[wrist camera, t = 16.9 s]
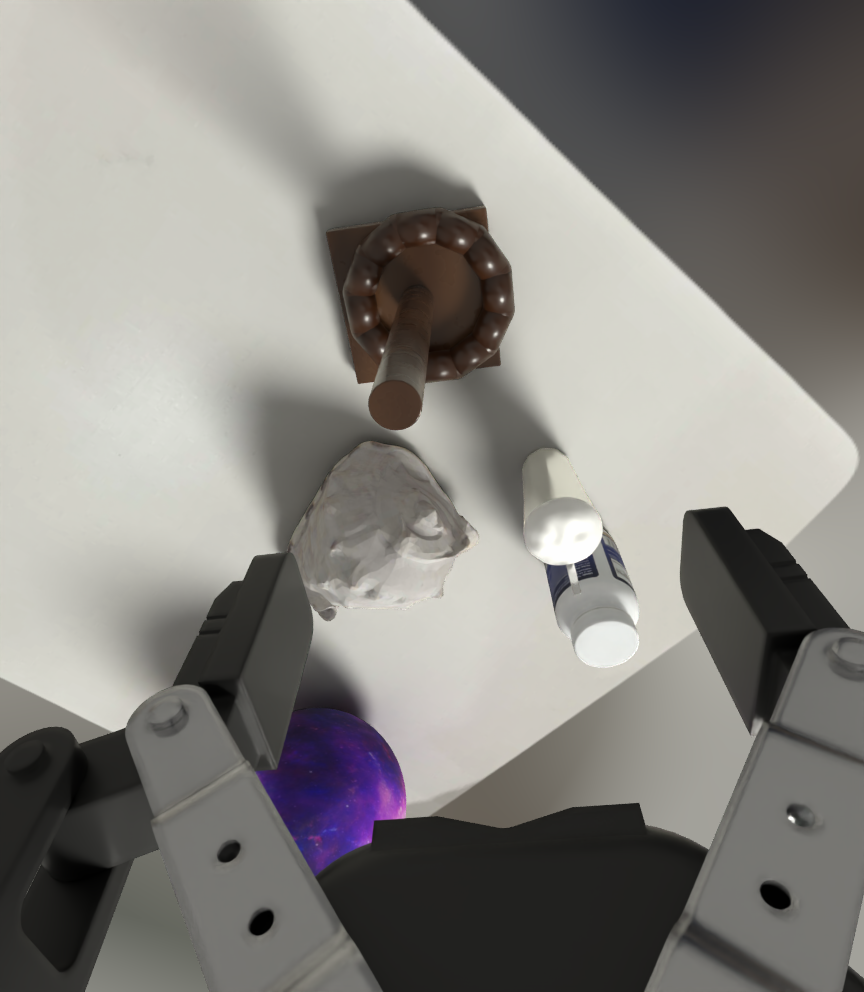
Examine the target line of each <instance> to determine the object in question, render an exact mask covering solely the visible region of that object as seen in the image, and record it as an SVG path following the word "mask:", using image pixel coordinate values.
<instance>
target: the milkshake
mask: <svg viewBox="0 0 864 992" xmlns="http://www.w3.org/2000/svg"><path fill="white" fill-rule="evenodd" d="M522 475H523V498H524V530H523V536H524V541H525V544H526V547H527V549H528V551H529V552H530V553H531V554H532V555H533V556H535V557H536V558H538V559H539V560H541V561H542V562H544V563H546V564H550V565H566V567H567V571H568V575H569V579H570V583H571V587H572V591H573V594H574V595H577V594H581V589H580V585H579V581H578V577H577V573H576V569H575V565H574V563H576V562H579V561H581V560H583V559H585V558H587V557H588V556H590V555H591V554H592V553H593V552H594V550H595V549H596V548H597V546H598V545H599V543H600V541H601V538H602V533H603V526H602V520H601V517H600V515H599V514H598V512H597V511H596V509H595V507H594V505H593V504H592V502H591V500H590V499H589V497H588V495H587V493H586V492H585V490H584V488H583V486H582V484H581V482H580V480H579V478H578V476H577V474H576V472H575V470H574V468H573V466H572V464H571V463H570V461H569V459H568V457H567V456H565V455H564V454H563V453H561V452H560V451H559V450H558V449H553V448H541V449H539V450H537V451H535V452H533V453H532V454H530V455H528V457H527V459H526V461H525V463H524V465H523V467H522Z"/></svg>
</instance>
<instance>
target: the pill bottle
mask: <svg viewBox="0 0 864 992" xmlns="http://www.w3.org/2000/svg"><path fill="white" fill-rule="evenodd" d="M544 564H545V569H546V574H547V578H548V583H549V587H550V592H551V597H552V601H553V606H554V611H555V616H556V620H557V624H558V626H559V628H560V630H561V631H562V633H563V634H564V635H565V636H566V637H567V638H569V639H570V640H572V643H573V647H574V651H575V653H576V655H577V657H578V658H579V659H580V660H581V661H582V662H584V663H585V664H587V665H590V666H593V667H599V668H607V667H613V666H617V665H619V664H622V663H624V662H625V661H627V660H628V659H630V658H631V657H632V656H633V655H634V654H635V652H636V650H637V648H638V646H639V636H638V632H637V629H636V627H635V625H636V623H637V621H638V618H639V603H638V600H637V597H636V594H635V591H634V589H633V586H632V584H631V581H630V579H629V576H628V573H627V571H626V568H625V566H624V563H623V561H622V558H621V555H620V553H619V551H618V548H617V546H616V544H615V542H614V540H613V538H612V537H611V536H610V535H609V534H608V533H607V532H606V531H605V530H603V533H602V538H601V541H600V543H599V545H598V546H597V548H596V549H595V550H594V552H593V553H592V554H591V555H590V556H588V557H587V558H585V559H583V560H581V561H579V562H576V563H574V565H575V569H576V573H577V577H578V581H579V585H580V589H581V594H577V595H574V594H573V591H572V587H571V583H570V579H569V575H568V571H567V567H566V565H550V564H546V563H544Z"/></svg>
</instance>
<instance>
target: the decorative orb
mask: <svg viewBox="0 0 864 992" xmlns="http://www.w3.org/2000/svg"><path fill="white" fill-rule="evenodd" d="M255 773H256V774H257V776H258V778H259V780H260V781H261V783H262V785H263V787H264V788H265V790H266V792H267V794H268V795H269V797H270V799H271V801H272V802H273V804H274V806H275V808H276V809H277V811H278V813H279V815H280V816H281V818H282V820H283V822H284V823H285V825H286V827H287V829H288V830H289V832H290V834H291V836H292V837H293V839H294V841H295V843H296V844H297V846H298V848H299V850H300V851H301V853H302V855H303V857H304V858H305V860H306V862H307V864H308V865H309V867H310V869H311V871H312V872H313V874H314V876H316V875H317V874H318V873H319V872H320V871H322V870H323V869H324V868H326V867H327V866H328V865H329V864H331V863H332V862H333V861H335V860H337V859H338V858H340V857H341V856H343V855H345V854H346V853H348V852H350V851H352V850H354V849H356V848H359V847H361V846H363V845H366V844H369V843H372V833H373V824H374V820H389V819H404V818H405V817H406V792H405V784H404V780H403V775H402V772H401V769H400V766H399V763H398V761H397V759H396V757H395V755H394V753H393V751H392V749H391V748H390V746H389V745H388V743H387V742H386V741H385V740H384V738H383V737H382V736H381V735H380V734H379V733H378V732H377V731H376V730H375V729H374V728H373V727H371V726H370V725H369V724H367V723H366V722H365V721H363V720H361V719H360V718H358V717H356V716H354V715H352V714H349V713H346V712H343V711H340V710H335V709H329V708H308V709H302V710H297V711H293V712H292V715H291V719H290V723H289V726H288V730H287V734H286V738H285V741H284V745H283V749H282V753H281V756H280V760H279V764H278V768H277V770H264V771H256V772H255Z"/></svg>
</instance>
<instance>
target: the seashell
mask: <svg viewBox="0 0 864 992" xmlns="http://www.w3.org/2000/svg"><path fill="white" fill-rule="evenodd" d="M478 541H479V534H478V532H477V531H476V530H475V529H474V528H473V527H472V526H471V525H470V524H469V522H468V521H466V520H465V518H464V517H463V516H460V515H459V514H458V513H457V511H456V509H455V507H454V505H453V503H452V502H451V500H450V499H449V497H448V496H447V495H446V494H445V493H444V492H443V491H442V489H441V487H440V486H439V484H438V483H437V482H436V480H435V479H434V477H433V476H432V474H431V473H430V471H429V469H428V468H427V466H426V465H425V464H424V463H423V462H422V461H421V460H420V459H419V458H418V457H417V456H416V455H415V454H414V453H412V452H411V451H409V450H408V449H405V448H402V447H399V446H393V445H386V444H382V443H379V442H375V441H366V442H364V443H361V444H359V445H358V446H357V447H355V448H354V449H353V450H352V451H351V452H350V453H349V454H348V455H346V456H344V457H343V458H342V459H341V460H340V461H339V462H338V463H337V464H336V465H335V466H334V467H333V469H332V470H331V471H330V472H329V473H328V475H327V477H326V478H325V480H324V482H323V484H322V485H321V487H320V488H319V491H318V493H317V494H316V496H315V497H314V499H313V501H312V502H311V504H310V505H309V507H308V509H307V510H306V512H305V514H304V516H303V517H302V519H301V520H300V523H299V525H298V526H297V527H296V529H295V531H294V533H293V535H292V537H291V539H290V542H289V545H288V551H287V552H291V553H293V555H294V556H295V558H296V561H297V564H298V567H299V571H300V574H301V577H302V580H303V584H304V587H305V590H306V593H307V597H308V600H309V603H310V604H311V605H312V607H313V608H314V610H315V611H317V612H318V613H319V615H320V616H321V617H322V618H323V619H324V620H326V621H331V620H332V619H334V618H335V616H336V613H337V609H338V607H339V606H344V607H345V608H364V609H401V610H408V609H409V608H410V607H411V606H412V605H413V604H415V603H418V602H420V601H423V600H426V599H428V598H441V597H442V596H443V585H444V582H445V579H446V577H447V576H448V574H449V572H450V571H451V568H452V566H453V563H454V560H455V558H456V557H458V556H459V555H460V554H462V553H464V552H466V551H468V550H470V549H471V548H473V547H474V546H476V545H477V544H478Z"/></svg>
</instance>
